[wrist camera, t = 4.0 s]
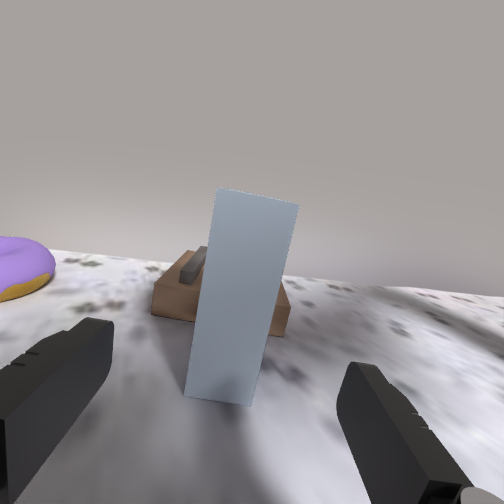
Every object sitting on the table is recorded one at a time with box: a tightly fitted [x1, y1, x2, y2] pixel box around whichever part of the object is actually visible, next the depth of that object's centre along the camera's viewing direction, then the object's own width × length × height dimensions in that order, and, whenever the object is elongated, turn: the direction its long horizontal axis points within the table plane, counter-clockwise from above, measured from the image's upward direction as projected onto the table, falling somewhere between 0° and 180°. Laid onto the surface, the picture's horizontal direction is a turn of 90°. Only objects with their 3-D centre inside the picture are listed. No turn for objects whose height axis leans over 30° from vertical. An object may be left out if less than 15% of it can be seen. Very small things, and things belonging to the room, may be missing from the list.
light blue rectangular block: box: [184, 188, 299, 406], centre depth 16 cm, size 4×6×12 cm
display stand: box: [151, 246, 291, 337], centre depth 28 cm, size 12×12×4 cm
